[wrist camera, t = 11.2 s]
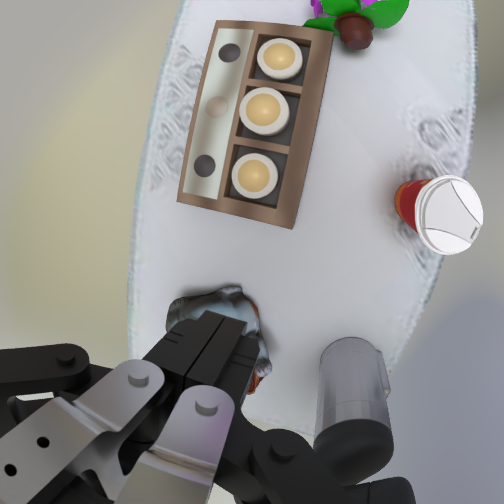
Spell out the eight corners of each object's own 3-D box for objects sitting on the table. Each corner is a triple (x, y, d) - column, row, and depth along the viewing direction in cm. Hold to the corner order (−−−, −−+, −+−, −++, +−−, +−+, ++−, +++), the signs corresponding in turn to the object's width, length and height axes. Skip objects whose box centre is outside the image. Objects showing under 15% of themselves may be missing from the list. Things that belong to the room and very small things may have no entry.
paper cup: (446, 193, 34) (498, 205, 21) (420, 240, 36) (461, 272, 23) (402, 161, 34) (441, 157, 21) (376, 210, 37) (403, 231, 24)
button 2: (283, 159, 37) (280, 158, 34) (274, 200, 39) (270, 203, 36) (242, 151, 38) (236, 149, 35) (234, 191, 40) (227, 193, 37)
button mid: (294, 97, 33) (291, 91, 30) (285, 139, 34) (282, 136, 31) (250, 90, 34) (244, 84, 31) (241, 131, 35) (234, 128, 32)
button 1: (306, 50, 32) (305, 41, 29) (299, 85, 34) (297, 78, 31) (266, 44, 33) (261, 35, 30) (258, 79, 35) (252, 72, 32)
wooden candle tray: (332, 41, 32) (333, 31, 29) (294, 225, 40) (291, 229, 37) (223, 28, 34) (215, 19, 31) (185, 199, 42) (175, 201, 39)
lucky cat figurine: (261, 281, 43) (276, 364, 32) (264, 331, 50) (275, 403, 40) (160, 291, 42) (148, 373, 31) (178, 338, 50) (175, 410, 39)
